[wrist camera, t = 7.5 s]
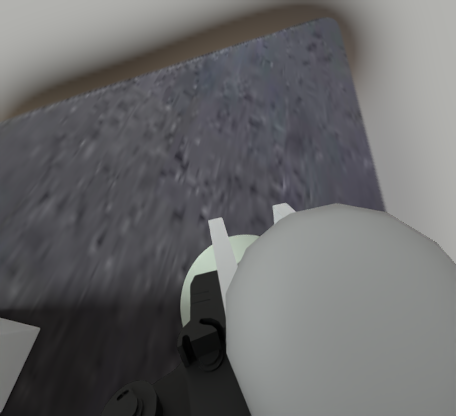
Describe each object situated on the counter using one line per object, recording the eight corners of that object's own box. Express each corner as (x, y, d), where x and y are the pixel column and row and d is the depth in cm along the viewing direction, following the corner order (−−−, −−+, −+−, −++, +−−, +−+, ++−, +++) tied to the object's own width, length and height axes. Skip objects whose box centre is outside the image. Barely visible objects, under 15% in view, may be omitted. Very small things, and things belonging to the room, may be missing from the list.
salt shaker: (307, 271, 16) (562, 183, 4) (300, 364, 14) (839, 878, 2) (227, 253, 16) (220, 126, 4) (208, 341, 14) (84, 591, 2)
